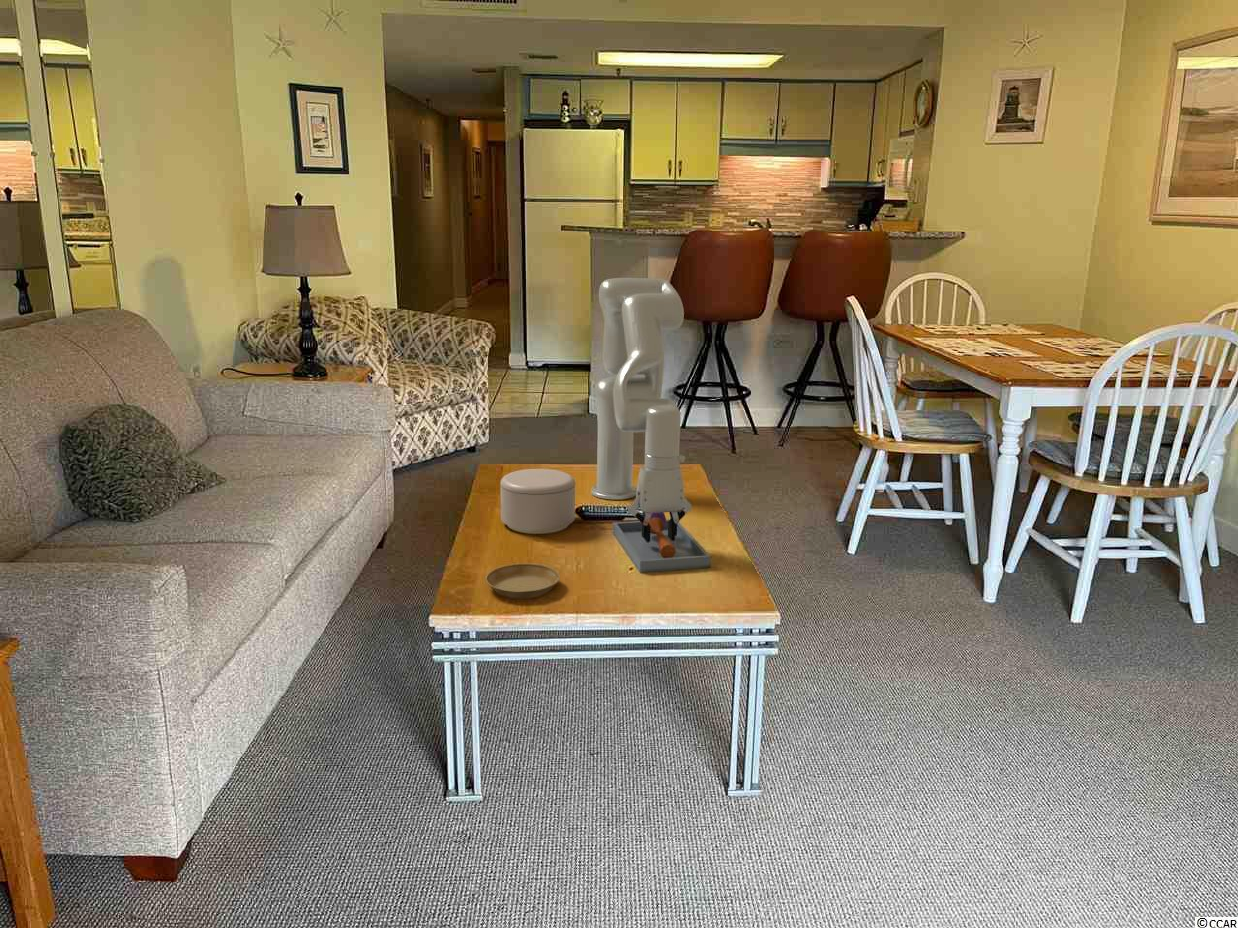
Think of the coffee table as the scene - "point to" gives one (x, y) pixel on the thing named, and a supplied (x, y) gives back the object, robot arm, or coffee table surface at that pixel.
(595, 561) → the coffee table surface
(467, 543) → the coffee table surface
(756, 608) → the coffee table surface
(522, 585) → the plant saucer
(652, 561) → the tray
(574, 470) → the coffee table surface
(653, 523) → the kendama
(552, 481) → the container
